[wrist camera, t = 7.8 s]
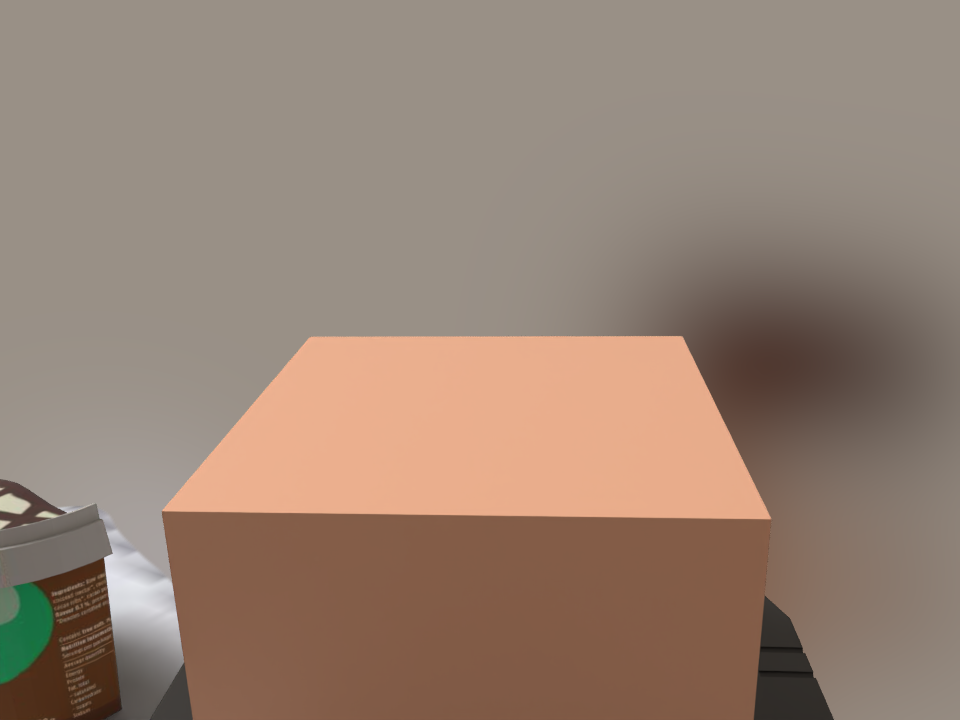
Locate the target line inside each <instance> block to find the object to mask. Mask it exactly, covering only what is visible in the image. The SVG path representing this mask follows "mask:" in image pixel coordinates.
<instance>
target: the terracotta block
mask: <svg viewBox="0 0 960 720" xmlns="http://www.w3.org/2000/svg"><path fill="white" fill-rule="evenodd" d="M162 517H163V523H164V529H165V537H166V543H167V550H168V557H169V563H170V569H171V577H172V583H173V590H174V597H175V603H176V610H177V617H178V623H179V630H180V637H181V643H182V650H183V656H184V663H185V670H186V676H187V683H188V690H189V696H190V703H191V710H192V716H193V720H754V710H755V698H756V687H757V676H758V664H759V653H760V642H761V630H762V619H763V608H764V597H765V585H766V574H767V562H768V550H769V540H770V528H771V518H770V516H769V513H768V512H767V509H766V507H765V505H764V503H763V501H762V499H761V497H760V495H759V493H758V491H757V489H756V487H755V485H754V483H753V481H752V479H751V477H750V474H749V472H748V470H747V468H746V466H745V464H744V462H743V460H742V458H741V456H740V454H739V452H738V450H737V448H736V446H735V444H734V442H733V440H732V438H731V435H730V434H729V431H728V429H727V427H726V425H725V423H724V421H723V419H722V417H721V415H720V413H719V411H718V409H717V407H716V405H715V403H714V401H713V399H712V396H711V394H710V392H709V390H708V388H707V386H706V384H705V382H704V380H703V378H702V376H701V374H700V372H699V370H698V368H697V366H696V364H695V362H694V360H693V357H692V355H691V354H690V352H689V349H688V347H687V345H686V343H685V341H684V339H683V337H682V336H602V337H601V336H590V337H589V336H583V337H582V336H571V337H570V336H559V337H558V336H556V337H555V336H551V337H550V336H547V337H546V336H545V337H543V336H542V337H539V336H538V337H537V336H536V337H310V338H309V339H308V340H307V341H306V342H305V343H304V345H303V346H302V347H301V348H300V349H299V350H298V352H297V353H296V354H295V355H294V356H293V358H292V359H291V360H290V361H289V362H288V363H287V365H286V366H285V367H284V368H283V369H282V370H281V372H280V373H279V374H278V375H277V376H276V377H275V379H274V380H273V381H272V382H271V383H270V385H269V386H268V387H267V388H266V389H265V390H264V392H263V393H262V394H261V395H260V396H259V397H258V399H257V400H256V401H255V402H254V403H253V405H252V406H251V407H250V408H249V409H248V410H247V412H246V413H245V414H244V415H243V417H241V419H240V420H239V421H238V422H237V424H236V425H235V426H234V427H233V428H232V429H231V430H230V432H229V433H228V434H227V435H226V436H225V438H224V439H223V440H222V441H221V442H220V443H219V444H218V446H217V447H216V448H215V449H214V450H213V452H212V453H211V454H210V455H209V456H208V458H207V459H206V460H205V461H204V462H203V463H202V464H201V466H200V467H199V468H198V469H197V470H196V472H195V473H194V474H193V475H192V476H191V477H190V479H189V480H188V481H187V482H186V483H185V484H184V486H183V487H182V488H181V489H180V490H179V492H178V493H177V494H176V495H175V496H174V497H173V499H172V500H171V501H170V502H169V503H168V505H167V506H166V507H165V508H164V509H163V510H162Z"/></svg>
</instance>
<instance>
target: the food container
mask: <svg viewBox="0 0 960 720" xmlns="http://www.w3.org/2000/svg"><path fill="white" fill-rule="evenodd" d="M111 554H113V553H112V549H111V546H110V543H109V539H108V536H107V532H106V529H105V526H104V522H103V520H102V519H99V514H98V509H97V505H96V503H93V504H91V505H88V506H86V507H83V508H80V509H78V510H75V511H72V512H69V513H67V512H64V511H62V510H60V509H58V508H56V507H54V506H52V505H51V504H49V503H48V502H46V501H45V500H43V499H42V498H40V497H39V496H37V495H36V494H34V493H33V492H31V491H30V490H28V489H26V488H25V487H23V486H21V485H20V484H18V483H15V482H11V481H7V480H1V479H0V720H104V719H105V718H107V717H109V716H111V715H112V714H114V713H116V712H117V711H119V710H121V709H122V707H121V698H120V690H119V681H118V673H117V664H116V656H115V648H114V639H113V631H112V622H111V614H110V605H109V597H108V588H107V580H106V571H105V563H104V557H106V556H108V555H111Z"/></svg>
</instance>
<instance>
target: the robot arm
mask: <svg viewBox="0 0 960 720" xmlns="http://www.w3.org/2000/svg"><path fill="white" fill-rule="evenodd" d="M150 720H193V716H192V710H191V703H190V696H189V690H188V683H187V676H186V670H185V663H184V664H183V665H182V667H181V669H180V670H179V672H178V674H177V675H176V677H175V679H174V680H173V682H172V684H171V685H170V687H169V689H168V690H167V692H166V694H165V695H164V697H163V699H162V700H161V702H160V704H159V705H158V707H157V709H156V710H155V712H154V714H153V715H152V717H151V719H150ZM754 720H834V719H833V717H832V714H831V712H830V710H829V707H828V705H827V703H826V700H825V698H824V696H823V693H822V691H821V689H820V687H819V684H818V682H817V680H816V678H814V677H813V670H812V668H811V666H810V663H809V661H808V659H807V656H806V654H805V653H803V648H802V645H801V643H800V640H799V638H798V636H797V633H796V631H795V629H794V626H793V624H792V622H791V620H790V618H789V617H788V616H787V615H786V614H784V613H783V612H782V611H781V610H780V609H779V608H778V607H777V606H776V605H775V604H773V603H772V602H771V601H770V600H769V599H768V598H767V597H766V596H765V597H764V608H763V619H762V630H761V642H760V653H759V664H758V676H757V687H756V698H755V710H754Z"/></svg>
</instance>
